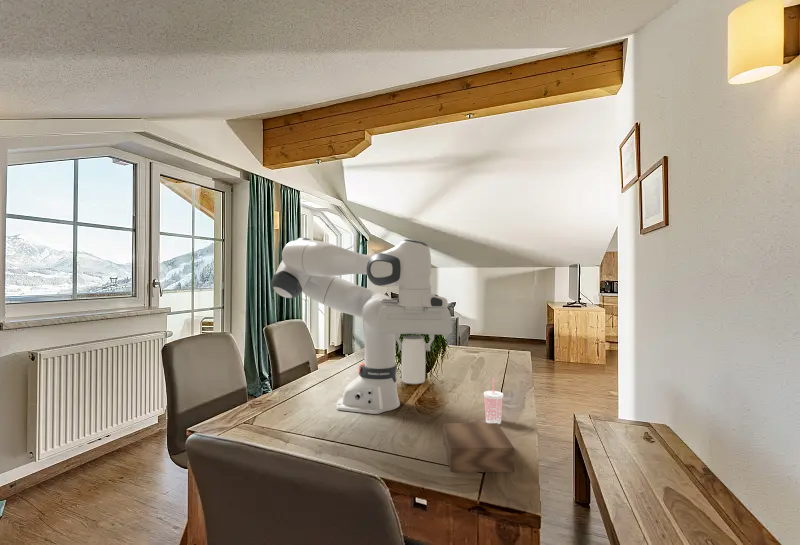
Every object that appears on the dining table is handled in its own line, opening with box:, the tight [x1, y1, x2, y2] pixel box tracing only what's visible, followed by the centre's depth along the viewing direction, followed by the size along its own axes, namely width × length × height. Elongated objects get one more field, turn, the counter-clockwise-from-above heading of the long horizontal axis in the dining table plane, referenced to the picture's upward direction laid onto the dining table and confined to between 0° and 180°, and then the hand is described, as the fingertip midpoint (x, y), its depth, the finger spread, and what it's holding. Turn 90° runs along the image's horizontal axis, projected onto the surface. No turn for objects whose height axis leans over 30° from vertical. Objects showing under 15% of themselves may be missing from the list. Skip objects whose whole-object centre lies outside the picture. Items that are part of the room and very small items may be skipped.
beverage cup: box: [483, 377, 504, 425], centre depth 121 cm, size 6×6×14 cm
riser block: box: [442, 422, 515, 473], centre depth 98 cm, size 15×15×6 cm
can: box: [400, 334, 426, 385], centre depth 103 cm, size 6×6×12 cm
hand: (414, 350), depth 103 cm, fingers closed on can, 6 cm apart
